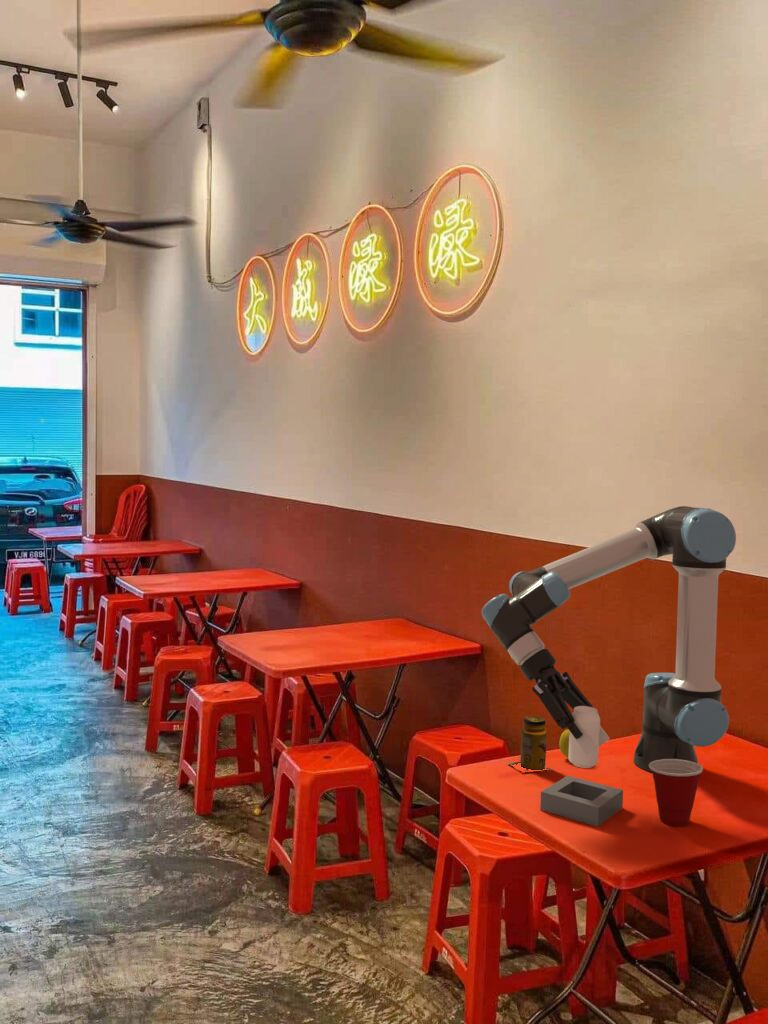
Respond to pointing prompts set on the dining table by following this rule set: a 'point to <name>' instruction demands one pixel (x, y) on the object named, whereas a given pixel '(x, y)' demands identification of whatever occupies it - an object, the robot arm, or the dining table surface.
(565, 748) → the lemon
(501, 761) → the dining table surface
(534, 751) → the condiment
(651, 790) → the dining table surface
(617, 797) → the square frame
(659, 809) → the plastic cup
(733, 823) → the dining table surface
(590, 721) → the beverage can
